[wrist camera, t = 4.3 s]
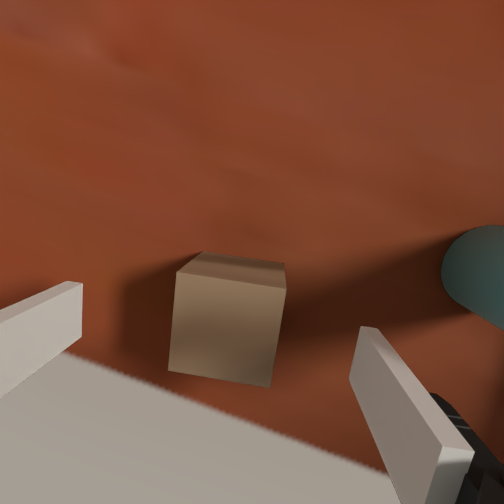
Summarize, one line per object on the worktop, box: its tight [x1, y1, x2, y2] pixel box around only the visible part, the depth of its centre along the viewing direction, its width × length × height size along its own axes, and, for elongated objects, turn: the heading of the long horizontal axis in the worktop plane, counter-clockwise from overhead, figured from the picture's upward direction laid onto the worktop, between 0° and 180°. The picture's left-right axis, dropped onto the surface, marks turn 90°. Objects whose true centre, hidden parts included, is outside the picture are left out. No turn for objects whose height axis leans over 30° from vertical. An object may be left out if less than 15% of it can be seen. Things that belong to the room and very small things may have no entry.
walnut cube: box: [168, 251, 287, 388], centre depth 16 cm, size 5×5×5 cm
